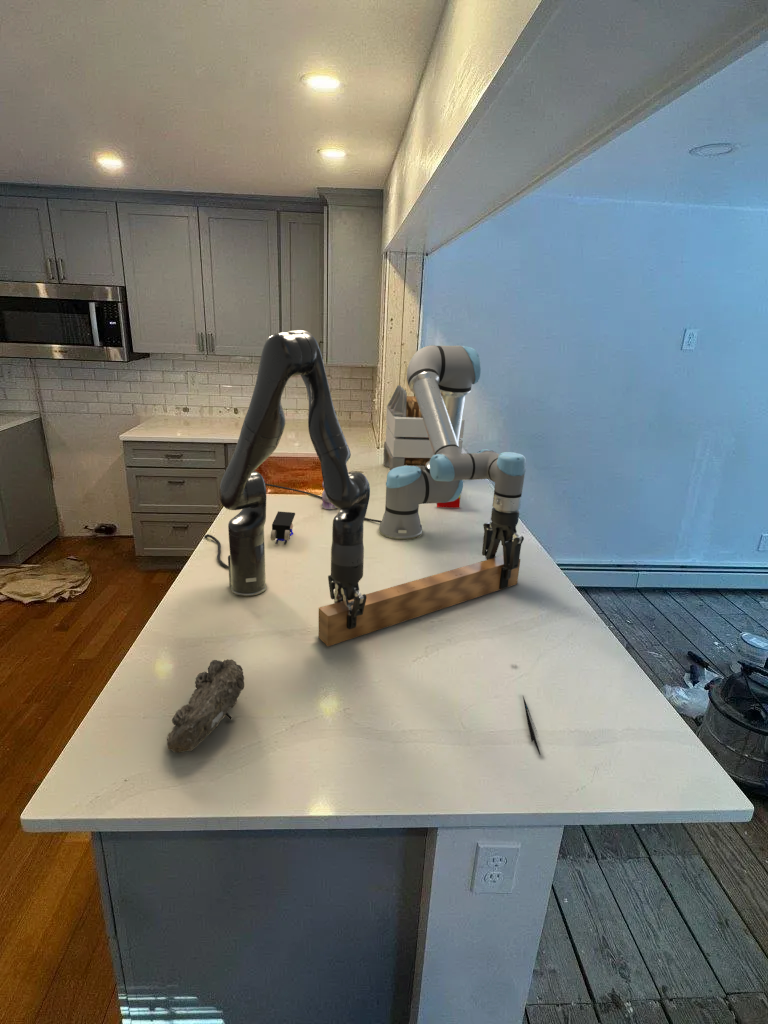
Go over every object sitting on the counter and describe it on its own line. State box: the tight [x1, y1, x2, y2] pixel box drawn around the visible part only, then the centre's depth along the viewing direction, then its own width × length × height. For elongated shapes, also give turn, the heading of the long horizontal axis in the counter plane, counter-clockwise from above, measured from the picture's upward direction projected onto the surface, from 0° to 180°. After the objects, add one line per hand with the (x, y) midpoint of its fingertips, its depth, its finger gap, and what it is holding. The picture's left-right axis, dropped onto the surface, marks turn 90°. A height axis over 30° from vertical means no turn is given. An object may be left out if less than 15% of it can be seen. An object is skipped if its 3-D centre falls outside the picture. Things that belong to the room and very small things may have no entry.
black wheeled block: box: [270, 510, 296, 546], centre depth 190 cm, size 7×8×15 cm
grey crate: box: [383, 384, 465, 471], centre depth 268 cm, size 34×33×41 cm
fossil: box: [166, 658, 245, 754], centre depth 106 cm, size 22×10×15 cm
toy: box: [436, 494, 462, 509], centre depth 239 cm, size 12×13×30 cm
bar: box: [317, 554, 521, 647], centre depth 150 cm, size 64×5×8 cm, turn 125°
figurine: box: [321, 482, 337, 510], centre depth 222 cm, size 9×10×15 cm
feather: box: [513, 664, 541, 755], centre depth 114 cm, size 2×28×2 cm
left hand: (345, 622), depth 136 cm, fingers closed on bar, 4 cm apart
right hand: (496, 584), depth 165 cm, fingers closed on bar, 5 cm apart
